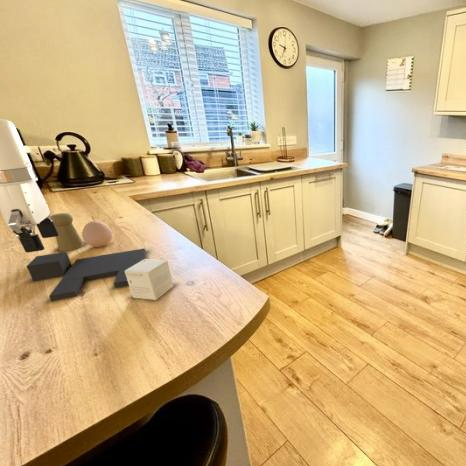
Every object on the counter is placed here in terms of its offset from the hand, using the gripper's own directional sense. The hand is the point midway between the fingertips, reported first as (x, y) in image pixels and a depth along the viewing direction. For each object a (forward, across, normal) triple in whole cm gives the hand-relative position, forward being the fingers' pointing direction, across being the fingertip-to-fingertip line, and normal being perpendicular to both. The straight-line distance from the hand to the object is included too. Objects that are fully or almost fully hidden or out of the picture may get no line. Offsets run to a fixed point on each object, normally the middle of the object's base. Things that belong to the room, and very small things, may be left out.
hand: (43, 243), depth 73 cm
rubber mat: (+9, +6, +11) cm, 15 cm away
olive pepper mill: (+9, -19, -2) cm, 21 cm away
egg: (+9, -16, +6) cm, 20 cm away
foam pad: (+9, 0, -1) cm, 9 cm away
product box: (+10, +22, +23) cm, 33 cm away
